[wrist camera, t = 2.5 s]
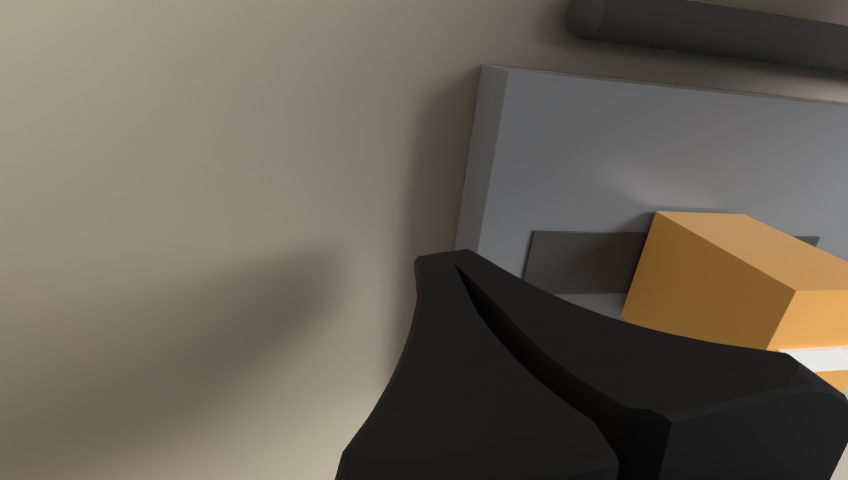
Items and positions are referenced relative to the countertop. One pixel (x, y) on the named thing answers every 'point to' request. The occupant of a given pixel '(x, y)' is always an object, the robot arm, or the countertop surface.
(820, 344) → the knob
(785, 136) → the breaker panel
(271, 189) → the countertop surface
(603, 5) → the dark grey rod
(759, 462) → the robot arm
